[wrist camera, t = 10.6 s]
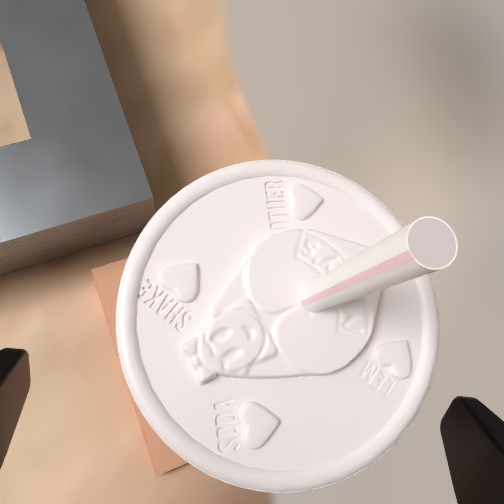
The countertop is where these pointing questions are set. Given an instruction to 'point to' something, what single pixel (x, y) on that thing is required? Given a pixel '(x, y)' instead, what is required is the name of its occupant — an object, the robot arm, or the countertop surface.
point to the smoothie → (280, 324)
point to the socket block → (65, 140)
